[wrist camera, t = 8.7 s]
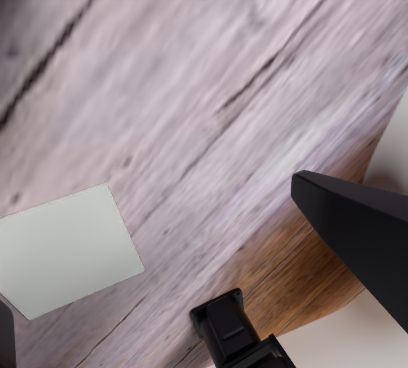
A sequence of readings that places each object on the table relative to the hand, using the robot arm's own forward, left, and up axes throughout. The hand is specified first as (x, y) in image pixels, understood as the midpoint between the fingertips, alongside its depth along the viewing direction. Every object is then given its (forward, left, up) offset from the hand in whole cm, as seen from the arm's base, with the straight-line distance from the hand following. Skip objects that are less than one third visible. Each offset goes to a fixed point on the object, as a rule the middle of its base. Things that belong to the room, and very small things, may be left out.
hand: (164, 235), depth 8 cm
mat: (-10, +7, -12) cm, 17 cm away
